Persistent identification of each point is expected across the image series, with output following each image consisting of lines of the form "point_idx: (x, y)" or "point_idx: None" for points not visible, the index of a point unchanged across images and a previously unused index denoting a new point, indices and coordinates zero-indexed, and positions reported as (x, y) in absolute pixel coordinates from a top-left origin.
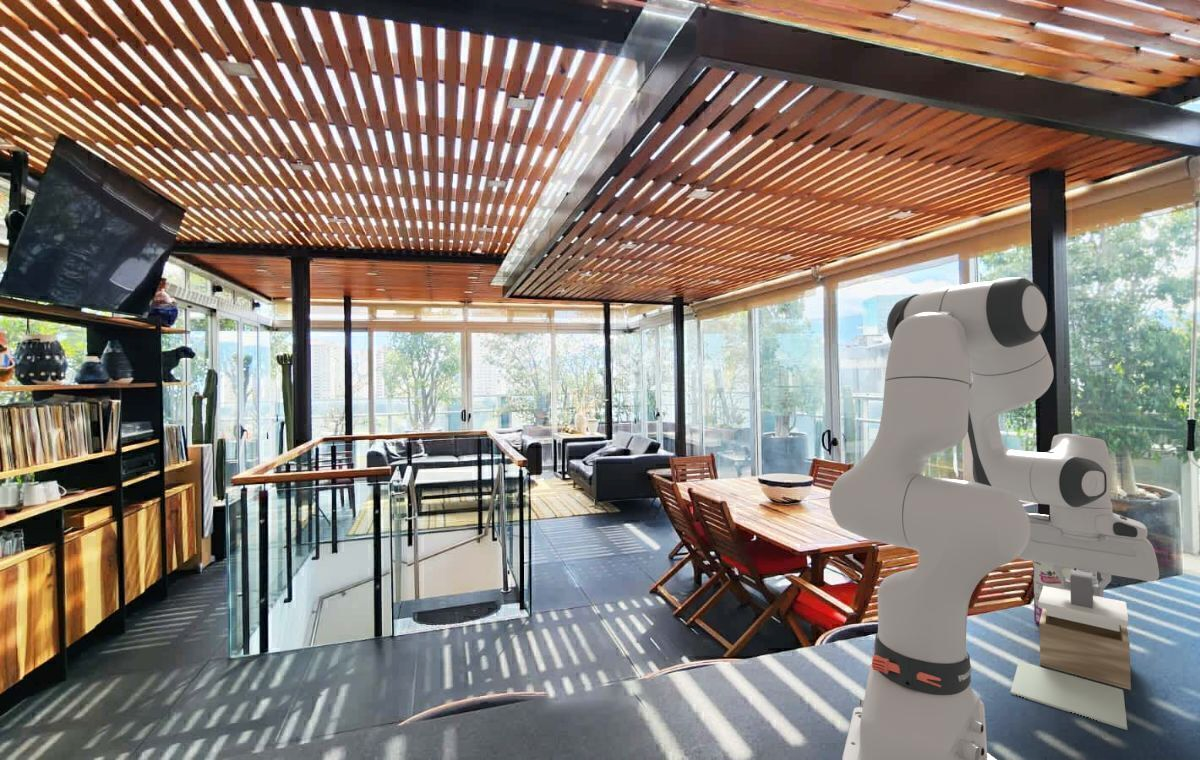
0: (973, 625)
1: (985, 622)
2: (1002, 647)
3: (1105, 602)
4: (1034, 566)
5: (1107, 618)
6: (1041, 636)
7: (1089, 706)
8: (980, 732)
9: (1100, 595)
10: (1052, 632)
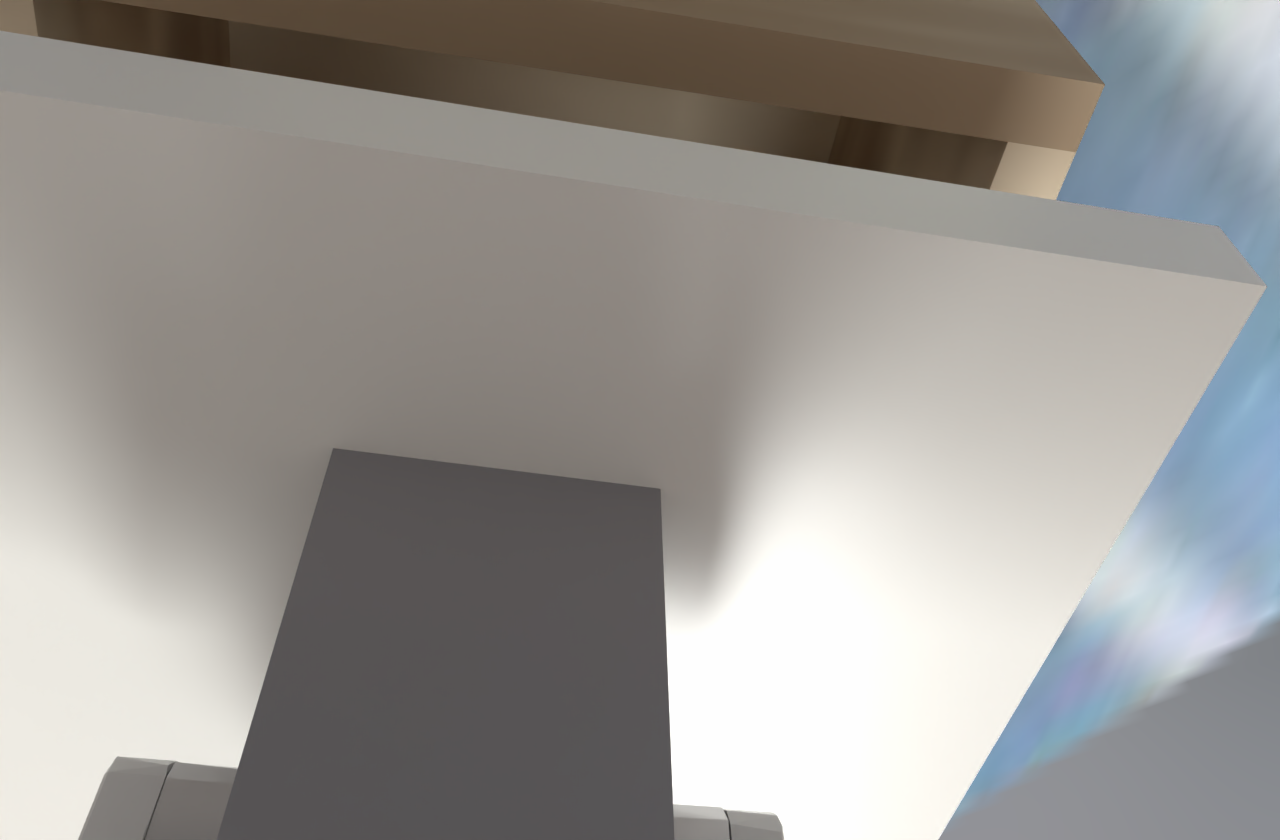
0: (1268, 518)
1: (1133, 618)
2: (1191, 160)
3: None
4: None
5: (89, 87)
6: (1021, 4)
7: None
8: None
9: (154, 769)
10: (915, 24)
